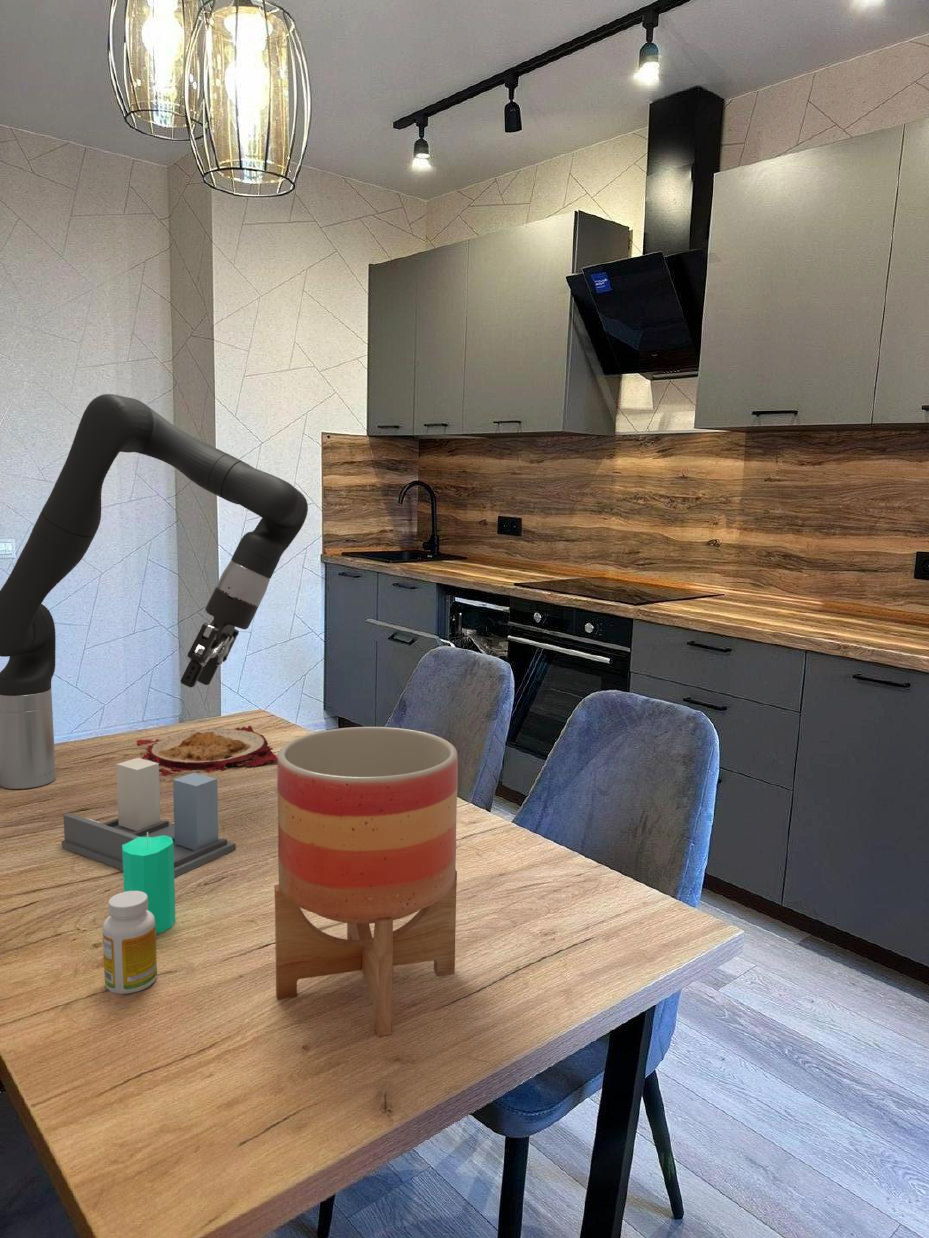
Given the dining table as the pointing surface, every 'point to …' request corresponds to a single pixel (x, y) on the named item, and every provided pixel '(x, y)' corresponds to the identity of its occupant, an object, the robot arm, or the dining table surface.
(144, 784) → the ivory key
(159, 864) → the candle
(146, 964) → the supplement bottle
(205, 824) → the slate blue key
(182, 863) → the tray
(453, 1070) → the dining table surface
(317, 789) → the planter
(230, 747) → the plate with food
